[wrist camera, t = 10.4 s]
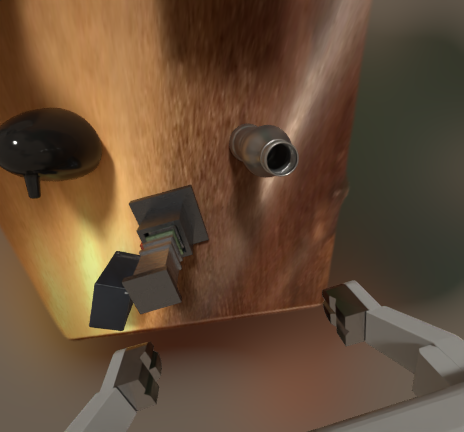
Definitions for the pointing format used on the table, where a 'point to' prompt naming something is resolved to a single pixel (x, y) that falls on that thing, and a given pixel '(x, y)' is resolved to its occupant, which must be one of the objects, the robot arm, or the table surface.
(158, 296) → the column
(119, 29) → the table surface
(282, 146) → the plastic bottle
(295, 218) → the table surface
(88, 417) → the robot arm
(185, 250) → the stand
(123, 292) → the small box
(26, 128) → the pump dispenser
